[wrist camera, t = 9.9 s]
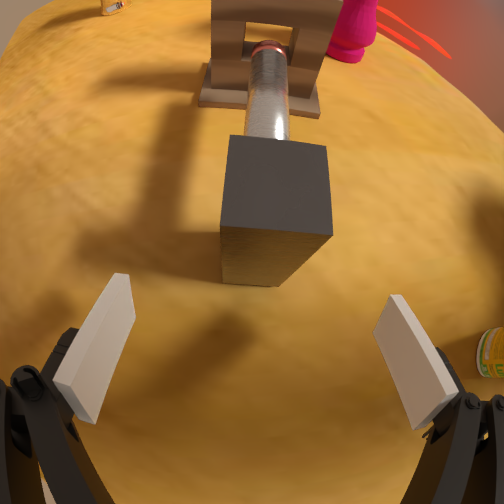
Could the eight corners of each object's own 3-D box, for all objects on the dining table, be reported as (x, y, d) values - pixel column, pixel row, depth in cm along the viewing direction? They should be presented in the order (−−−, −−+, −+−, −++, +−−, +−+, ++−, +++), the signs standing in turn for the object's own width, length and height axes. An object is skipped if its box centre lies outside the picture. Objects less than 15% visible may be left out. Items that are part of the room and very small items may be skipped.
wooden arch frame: (318, 118, 26) (361, 14, 14) (198, 106, 25) (193, -9, 13) (311, 73, 28) (341, -15, 16) (210, 63, 27) (211, -32, 15)
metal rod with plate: (278, 286, 20) (332, 235, 10) (222, 282, 20) (220, 225, 10) (280, 107, 25) (303, 15, 15) (239, 103, 25) (249, 7, 15)
